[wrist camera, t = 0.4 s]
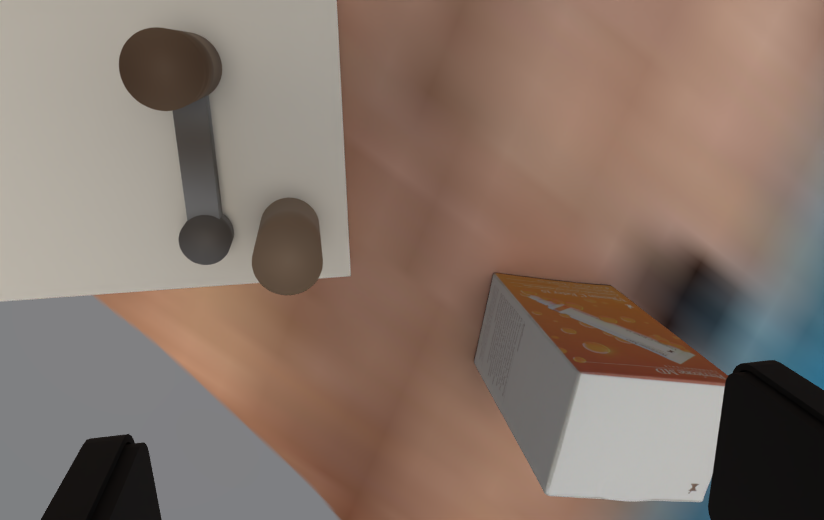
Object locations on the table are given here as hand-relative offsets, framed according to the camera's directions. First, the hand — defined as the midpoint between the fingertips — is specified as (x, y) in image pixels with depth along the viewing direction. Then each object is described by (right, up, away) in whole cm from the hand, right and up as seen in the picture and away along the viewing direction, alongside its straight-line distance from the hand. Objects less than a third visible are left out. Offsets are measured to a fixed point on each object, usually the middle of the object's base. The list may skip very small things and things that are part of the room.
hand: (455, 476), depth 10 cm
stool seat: (-14, +13, +21) cm, 29 cm away
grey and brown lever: (-11, +9, +20) cm, 25 cm away
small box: (+7, -1, +30) cm, 31 cm away
